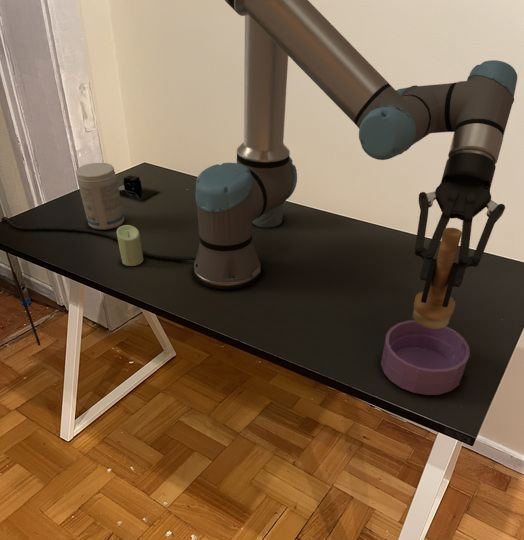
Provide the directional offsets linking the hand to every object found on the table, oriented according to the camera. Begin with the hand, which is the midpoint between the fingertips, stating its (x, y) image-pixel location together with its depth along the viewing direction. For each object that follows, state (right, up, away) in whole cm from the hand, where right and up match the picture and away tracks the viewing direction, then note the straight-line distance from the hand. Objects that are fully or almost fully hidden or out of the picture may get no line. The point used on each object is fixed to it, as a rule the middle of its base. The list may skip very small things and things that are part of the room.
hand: (434, 302), depth 82 cm
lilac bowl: (+2, -11, +13) cm, 17 cm away
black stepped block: (-65, +39, +74) cm, 106 cm away
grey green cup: (-26, +28, +60) cm, 71 cm away
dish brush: (+1, -2, +6) cm, 7 cm away
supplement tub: (-69, +26, +58) cm, 94 cm away
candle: (-58, +14, +43) cm, 73 cm away
